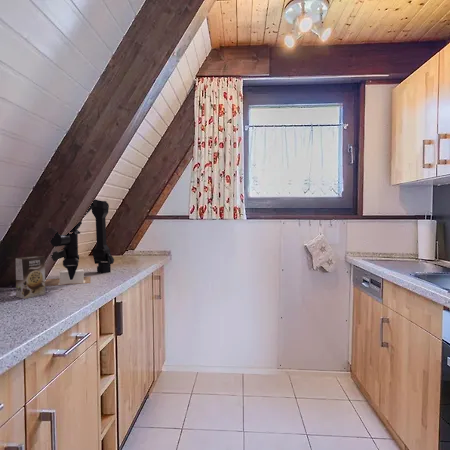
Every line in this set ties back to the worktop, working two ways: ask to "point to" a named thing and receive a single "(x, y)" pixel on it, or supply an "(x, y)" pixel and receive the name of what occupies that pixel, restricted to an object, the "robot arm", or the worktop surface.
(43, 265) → the cookie box
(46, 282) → the board
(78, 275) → the block
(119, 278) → the worktop surface
